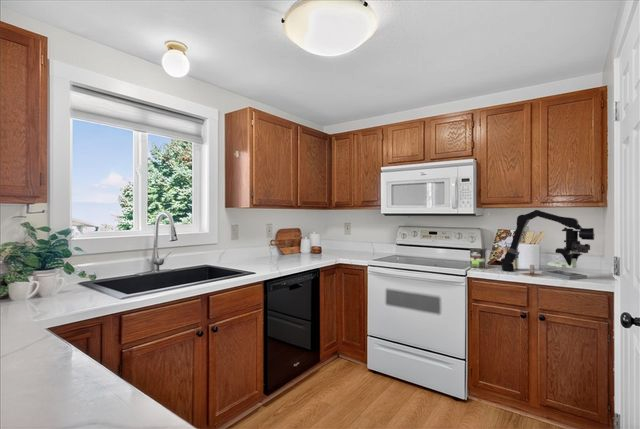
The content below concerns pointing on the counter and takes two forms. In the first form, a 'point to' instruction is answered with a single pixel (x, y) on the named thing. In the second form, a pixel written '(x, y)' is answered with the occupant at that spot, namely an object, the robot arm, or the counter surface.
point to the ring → (564, 264)
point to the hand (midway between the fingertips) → (571, 265)
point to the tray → (564, 275)
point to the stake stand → (532, 272)
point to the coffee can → (478, 258)
